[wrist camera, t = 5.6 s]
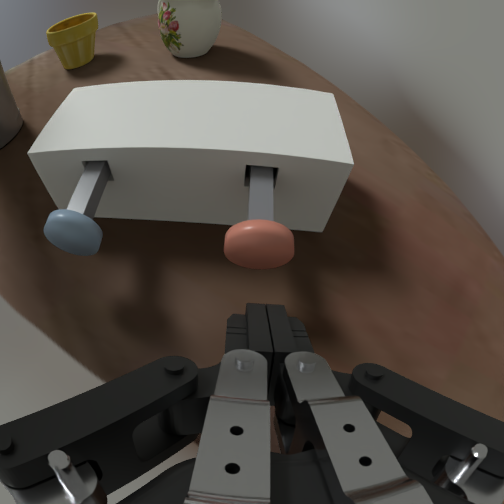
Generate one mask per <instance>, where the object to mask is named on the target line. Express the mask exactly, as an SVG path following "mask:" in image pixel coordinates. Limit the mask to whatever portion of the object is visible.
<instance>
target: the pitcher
mask: <svg viewBox="0 0 504 504" xmlns="http://www.w3.org/2000/svg"><path fill="white" fill-rule="evenodd" d="M221 13H222V12H221V7H220V3H219V0H159V2H158V26H159V31H160V35H161V38H162V40H163V42H164V44H165V46H166V47H167V49H168V50H169V51H170V52H171V53H172V54H173V55H174V56H177V57H182V58H191V57H197V56H201V55H204V54H206V53H207V52H208V50H209V49H210V48H211V47H212V46H213V44H214V43H215V41H216V38H217V36H218V33H219V30H220V26H221V18H222V14H221Z"/></svg>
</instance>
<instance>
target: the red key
mask: <svg viewBox="0 0 504 504" xmlns="http://www.w3.org/2000/svg"><path fill="white" fill-rule="evenodd" d="M224 254H225V256H226V258H227V259H228V260H229V261H231V262H232V263H234V264H236V265H239V266H241V267H245V268H250V269H271V268H276V267H279V266H282V265H284V264H286V263H288V262H289V261H290V260H291V259H292V258H293V256H294V236H293V234H292V232H291V231H290V230H289V229H288V228H287V227H286V226H284V225H282V224H280V223H277V222H274V218H273V167H267V166H256V165H250V179H249V198H248V218H247V221H243V222H240V223H237V224H235V225H233V226H232V227H231V228H229V230H228V231H227V232H226V235H225V244H224Z"/></svg>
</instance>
